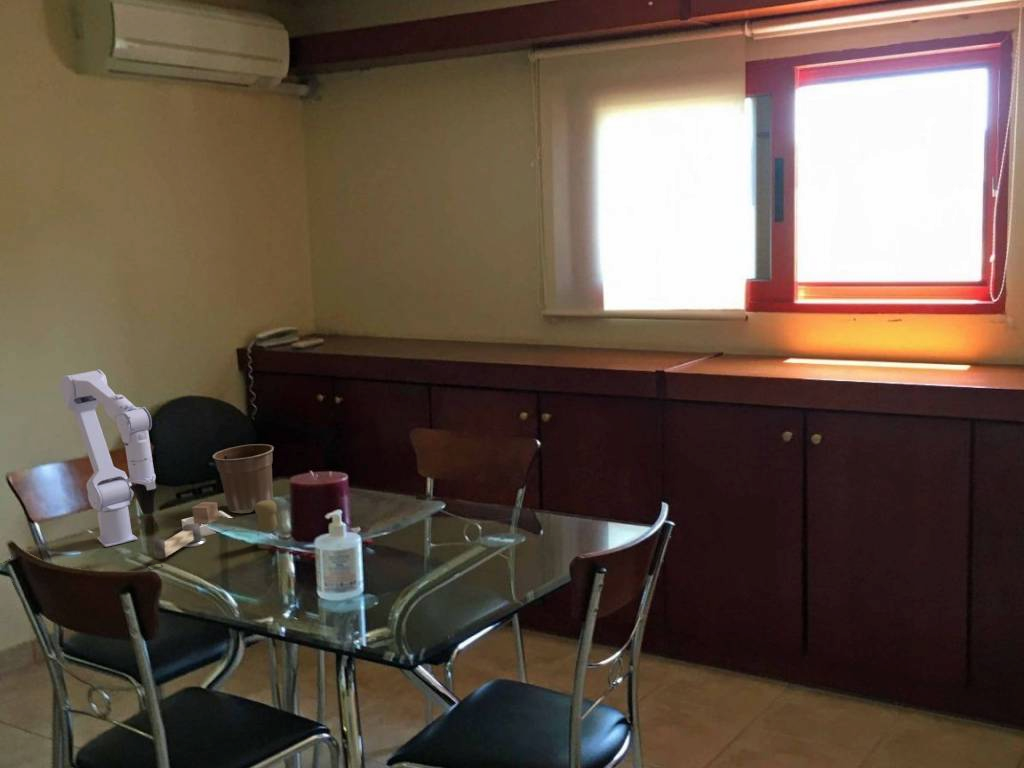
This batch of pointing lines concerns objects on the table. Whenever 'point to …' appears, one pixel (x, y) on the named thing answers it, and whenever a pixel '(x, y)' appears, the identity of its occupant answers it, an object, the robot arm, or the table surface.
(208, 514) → the block
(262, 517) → the cork
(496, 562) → the table surface
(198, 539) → the crank
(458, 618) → the table surface
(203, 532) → the tray
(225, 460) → the plant pot
